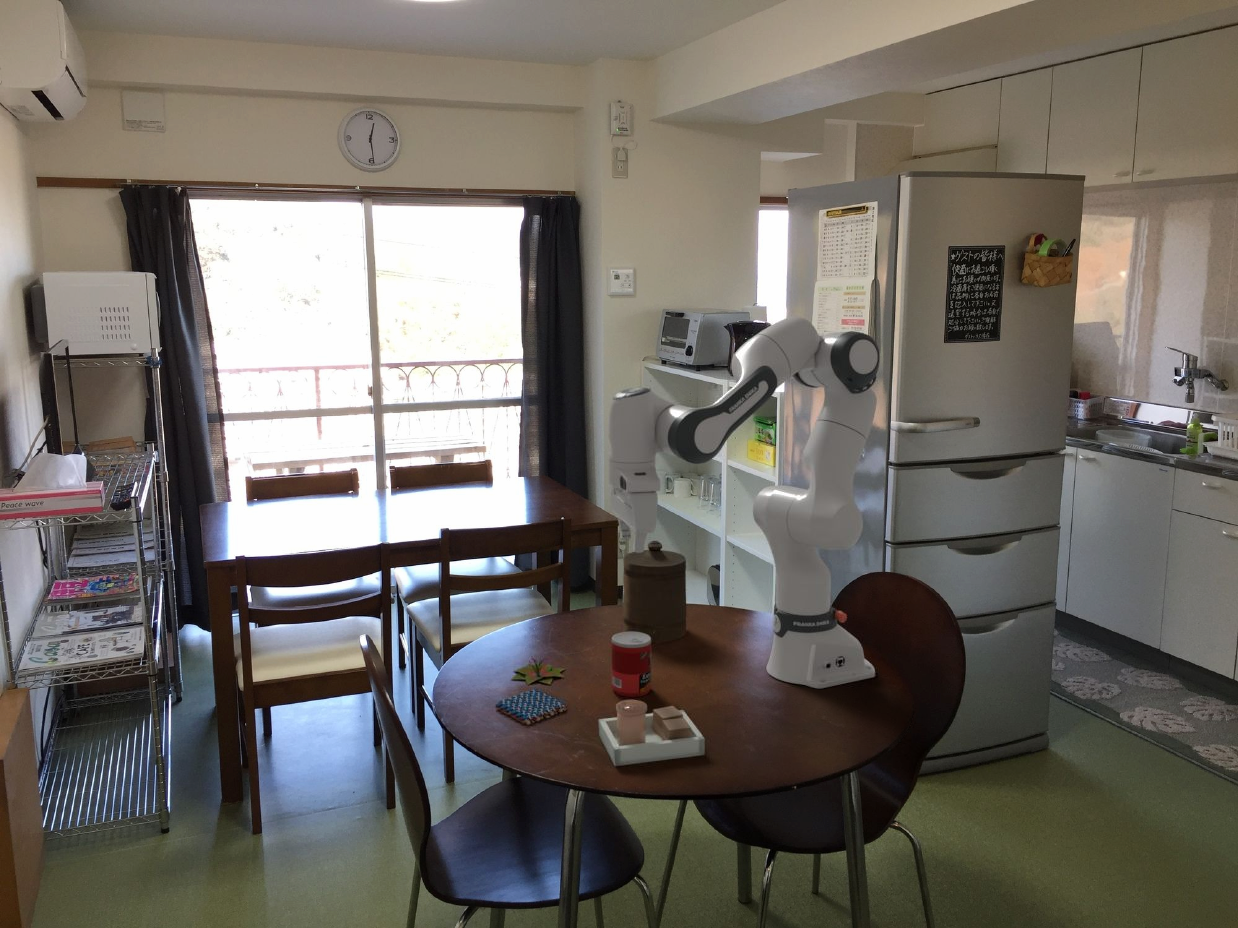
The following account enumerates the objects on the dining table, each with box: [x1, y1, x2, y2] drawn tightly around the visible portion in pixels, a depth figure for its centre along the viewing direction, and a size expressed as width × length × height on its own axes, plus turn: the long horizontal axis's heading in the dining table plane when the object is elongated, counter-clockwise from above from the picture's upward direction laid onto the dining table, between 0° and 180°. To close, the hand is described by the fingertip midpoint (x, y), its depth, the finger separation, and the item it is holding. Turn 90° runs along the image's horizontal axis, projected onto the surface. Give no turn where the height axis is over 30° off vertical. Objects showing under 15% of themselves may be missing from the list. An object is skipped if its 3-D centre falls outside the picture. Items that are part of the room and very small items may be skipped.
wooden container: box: [622, 540, 687, 644], centre depth 225 cm, size 15×15×22 cm
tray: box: [598, 709, 706, 767], centre depth 170 cm, size 16×12×3 cm
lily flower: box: [512, 653, 566, 686], centre depth 201 cm, size 12×12×5 cm
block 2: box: [662, 718, 691, 741], centre depth 169 cm, size 4×4×4 cm
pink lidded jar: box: [615, 699, 648, 746], centre depth 169 cm, size 5×5×7 cm
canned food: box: [611, 631, 652, 698], centre depth 193 cm, size 8×8×11 cm
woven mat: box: [494, 687, 568, 726], centre depth 185 cm, size 10×11×2 cm
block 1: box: [652, 705, 683, 738], centre depth 173 cm, size 4×4×4 cm
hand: (631, 545), depth 185 cm, fingers open, 8 cm apart
